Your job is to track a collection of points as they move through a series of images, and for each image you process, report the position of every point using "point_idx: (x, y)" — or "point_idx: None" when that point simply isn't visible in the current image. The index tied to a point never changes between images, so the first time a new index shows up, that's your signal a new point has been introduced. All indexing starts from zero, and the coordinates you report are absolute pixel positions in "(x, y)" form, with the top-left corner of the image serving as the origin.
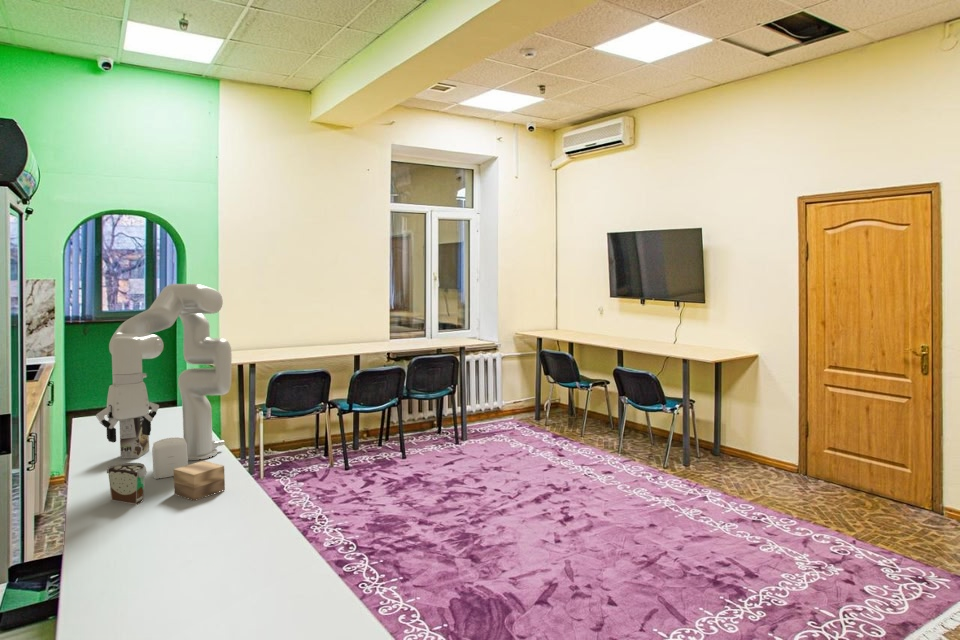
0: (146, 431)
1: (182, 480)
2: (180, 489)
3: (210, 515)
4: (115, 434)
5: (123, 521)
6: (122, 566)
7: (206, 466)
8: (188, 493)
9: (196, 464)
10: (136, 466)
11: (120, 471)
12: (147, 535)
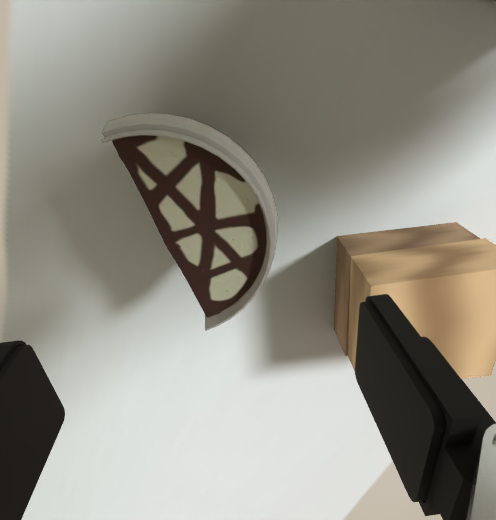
0: (368, 391)
1: (355, 313)
2: (343, 281)
3: (297, 424)
4: (29, 488)
5: (133, 338)
6: (81, 500)
7: (459, 342)
8: (339, 317)
9: (465, 294)
10: (250, 206)
11: (158, 224)
12: (153, 433)
